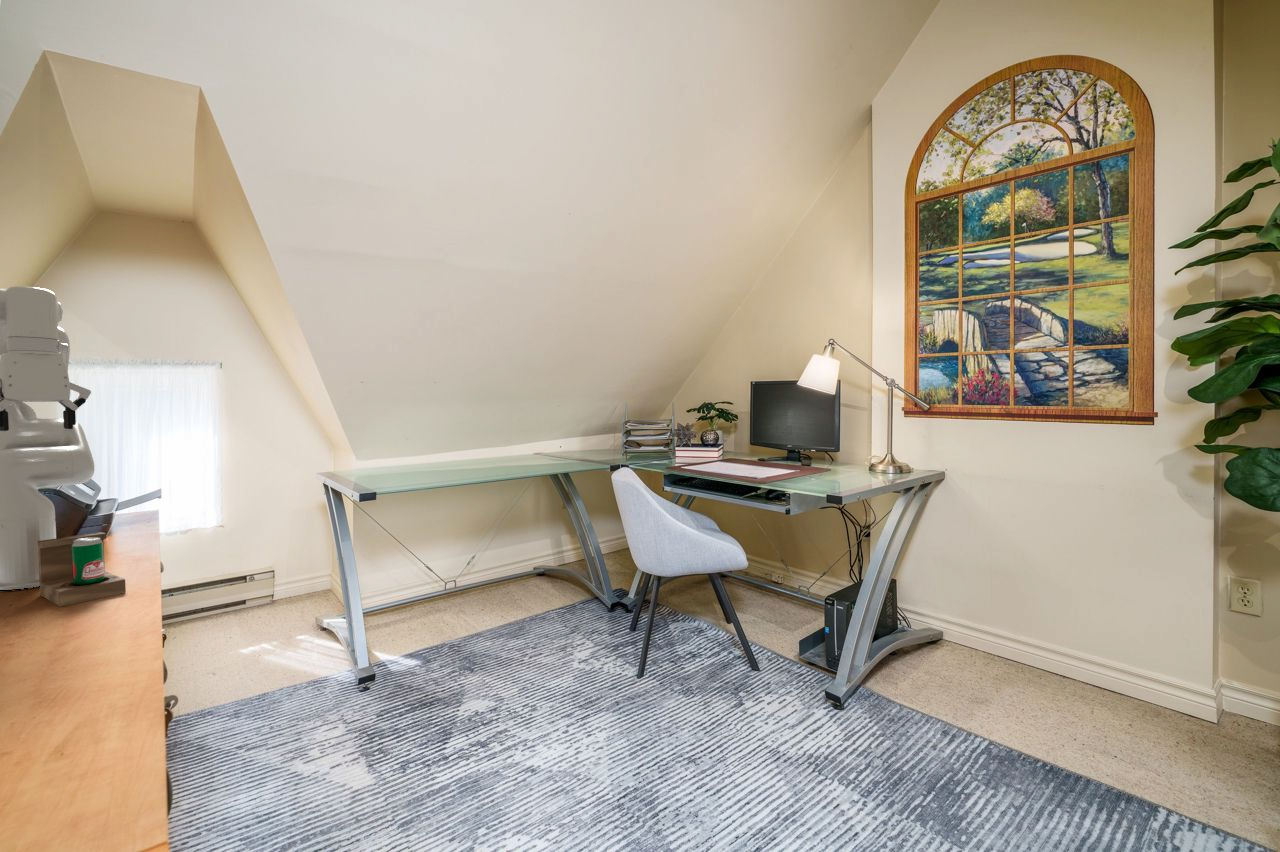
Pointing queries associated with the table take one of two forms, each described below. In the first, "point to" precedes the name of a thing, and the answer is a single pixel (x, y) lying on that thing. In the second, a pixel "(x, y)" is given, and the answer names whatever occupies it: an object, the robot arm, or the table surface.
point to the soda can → (87, 561)
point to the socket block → (70, 574)
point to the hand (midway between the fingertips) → (37, 429)
